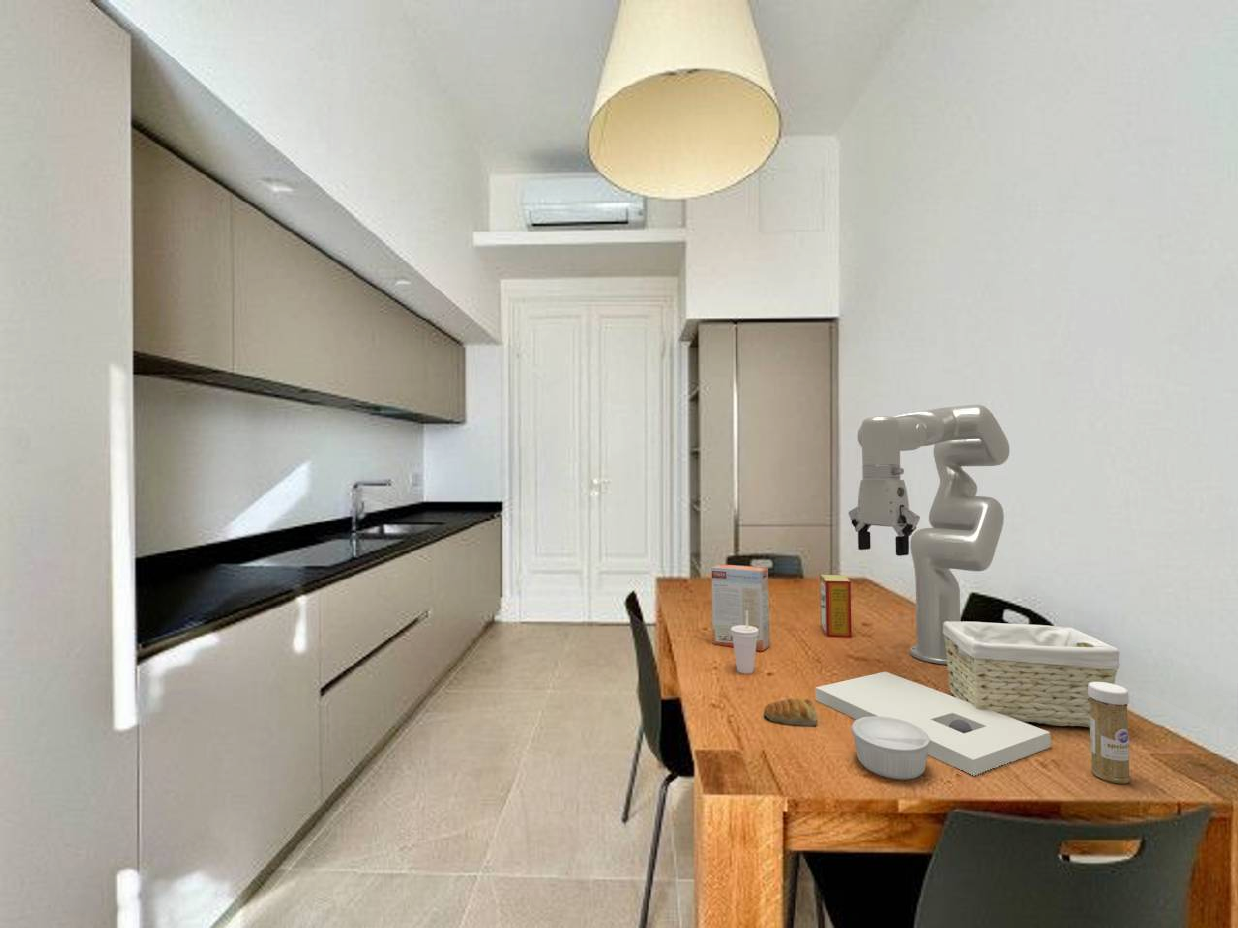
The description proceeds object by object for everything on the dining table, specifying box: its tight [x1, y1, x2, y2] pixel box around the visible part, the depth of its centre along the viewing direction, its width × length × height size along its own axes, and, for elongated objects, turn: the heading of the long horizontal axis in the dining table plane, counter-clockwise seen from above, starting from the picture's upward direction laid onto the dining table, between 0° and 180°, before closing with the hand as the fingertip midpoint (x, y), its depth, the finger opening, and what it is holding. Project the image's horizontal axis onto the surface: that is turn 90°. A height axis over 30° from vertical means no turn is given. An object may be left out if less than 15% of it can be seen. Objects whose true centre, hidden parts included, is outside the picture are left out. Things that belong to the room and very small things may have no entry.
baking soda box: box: [819, 574, 852, 639], centre depth 160 cm, size 10×6×16 cm
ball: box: [949, 720, 972, 733], centre depth 96 cm, size 4×4×4 cm
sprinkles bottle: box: [1088, 682, 1131, 784], centre depth 84 cm, size 5×5×13 cm
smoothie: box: [731, 610, 759, 674], centre depth 131 cm, size 6×6×14 cm
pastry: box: [763, 697, 819, 727], centre depth 105 cm, size 9×7×4 cm
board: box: [814, 671, 1052, 777], centre depth 103 cm, size 32×20×2 cm, turn 25°
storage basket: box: [943, 621, 1121, 728], centre depth 107 cm, size 24×16×15 cm
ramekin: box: [851, 716, 930, 780], centre depth 88 cm, size 11×11×5 cm
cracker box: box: [711, 564, 771, 652], centre depth 150 cm, size 14×6×21 cm, turn 58°
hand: (882, 552), depth 122 cm, fingers open, 9 cm apart
